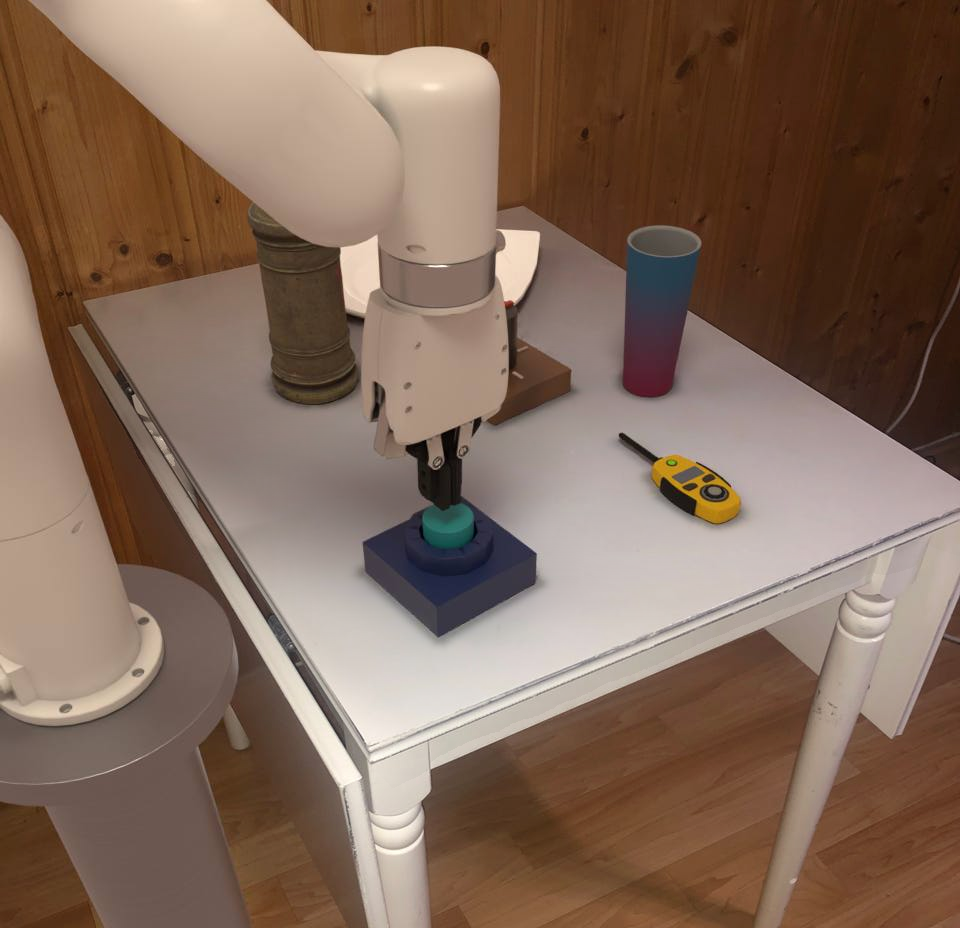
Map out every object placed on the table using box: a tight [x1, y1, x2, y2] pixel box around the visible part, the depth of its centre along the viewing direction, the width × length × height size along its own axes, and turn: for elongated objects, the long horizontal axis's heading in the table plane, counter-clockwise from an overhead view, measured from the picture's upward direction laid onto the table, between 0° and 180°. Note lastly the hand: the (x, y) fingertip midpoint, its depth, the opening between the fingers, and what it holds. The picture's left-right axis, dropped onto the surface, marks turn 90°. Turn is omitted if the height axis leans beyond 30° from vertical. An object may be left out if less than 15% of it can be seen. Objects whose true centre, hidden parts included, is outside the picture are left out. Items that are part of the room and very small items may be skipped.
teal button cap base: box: [362, 495, 538, 638], centre depth 85 cm, size 10×10×5 cm
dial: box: [504, 300, 519, 369], centre depth 104 cm, size 4×4×6 cm
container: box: [246, 201, 359, 405], centre depth 102 cm, size 9×9×18 cm
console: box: [486, 336, 572, 426], centre depth 107 cm, size 10×12×3 cm
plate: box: [340, 228, 541, 319], centre depth 123 cm, size 24×24×3 cm
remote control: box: [618, 432, 742, 524], centre depth 95 cm, size 5×2×15 cm
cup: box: [622, 224, 702, 398], centre depth 102 cm, size 7×7×15 cm
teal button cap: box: [422, 503, 474, 549], centre depth 83 cm, size 4×4×2 cm
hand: (440, 498), depth 80 cm, fingers closed
